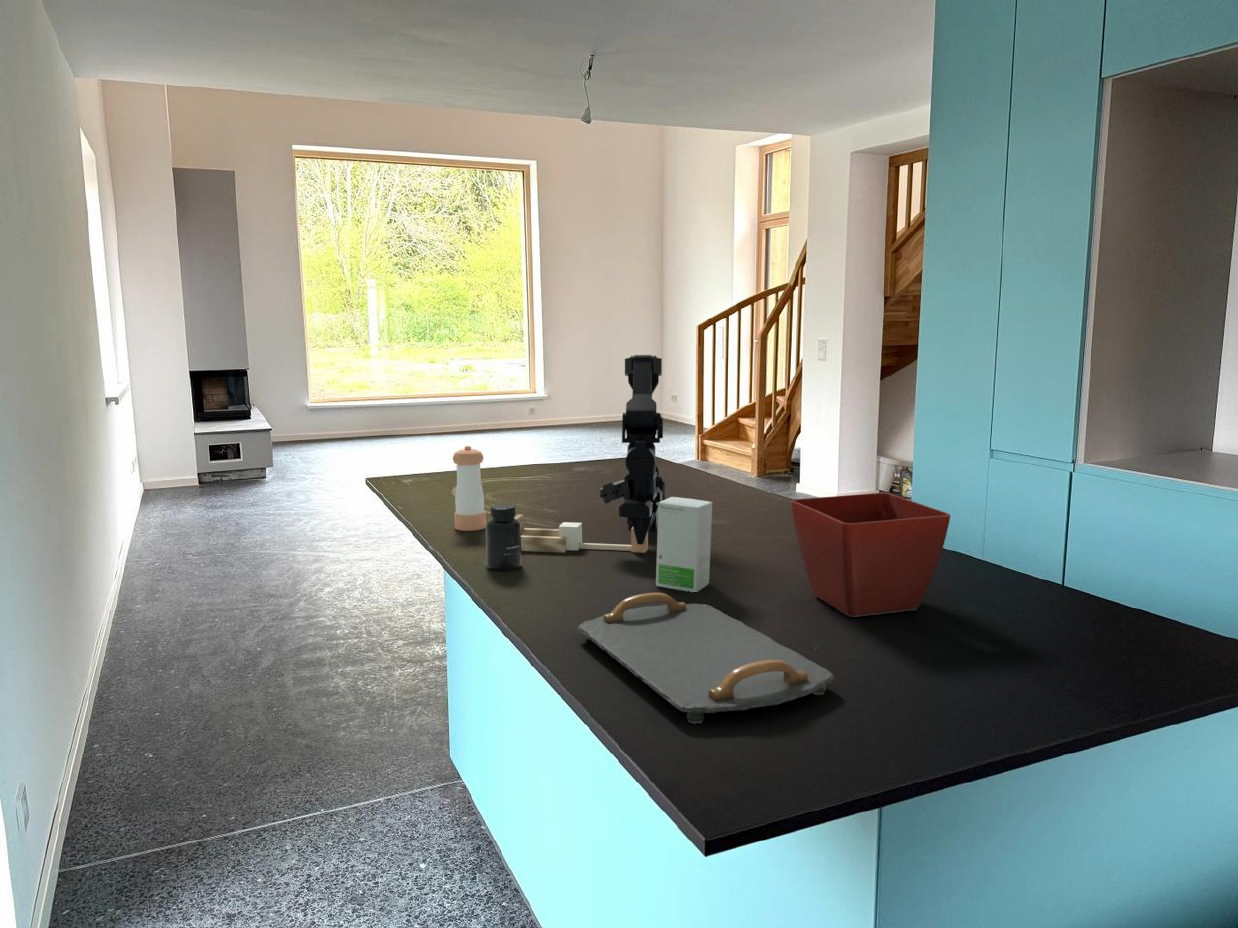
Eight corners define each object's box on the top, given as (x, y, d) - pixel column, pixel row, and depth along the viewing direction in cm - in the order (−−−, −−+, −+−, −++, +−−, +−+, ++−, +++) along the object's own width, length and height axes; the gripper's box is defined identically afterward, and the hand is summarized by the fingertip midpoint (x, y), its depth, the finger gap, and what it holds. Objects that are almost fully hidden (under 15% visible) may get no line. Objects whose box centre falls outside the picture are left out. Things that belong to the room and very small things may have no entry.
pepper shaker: (469, 532, 201) (467, 449, 198) (448, 528, 205) (444, 446, 202) (492, 526, 207) (490, 445, 204) (471, 522, 211) (468, 443, 208)
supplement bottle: (515, 572, 169) (513, 510, 167) (481, 570, 170) (479, 509, 168) (526, 562, 175) (524, 503, 174) (493, 561, 177) (491, 502, 175)
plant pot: (841, 628, 137) (845, 522, 134) (786, 592, 155) (788, 498, 152) (948, 616, 142) (954, 514, 139) (882, 583, 160) (886, 492, 157)
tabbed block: (648, 548, 186) (648, 525, 185) (645, 553, 182) (645, 529, 181) (563, 544, 189) (563, 522, 188) (559, 549, 185) (558, 526, 184)
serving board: (567, 636, 136) (566, 597, 135) (697, 614, 145) (698, 577, 144) (694, 743, 101) (694, 691, 100) (854, 704, 111) (855, 657, 110)
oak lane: (573, 543, 191) (572, 516, 190) (564, 552, 183) (564, 524, 182) (518, 541, 193) (518, 514, 192) (508, 550, 185) (507, 522, 184)
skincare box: (655, 587, 159) (654, 502, 156) (670, 577, 164) (670, 495, 162) (698, 593, 155) (698, 506, 152) (712, 583, 161) (713, 499, 158)
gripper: (611, 460, 192) (612, 530, 194) (593, 474, 174) (594, 551, 176) (662, 461, 190) (662, 532, 192) (649, 476, 172) (649, 554, 174)
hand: (641, 542), depth 184 cm, fingers closed on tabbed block, 3 cm apart
